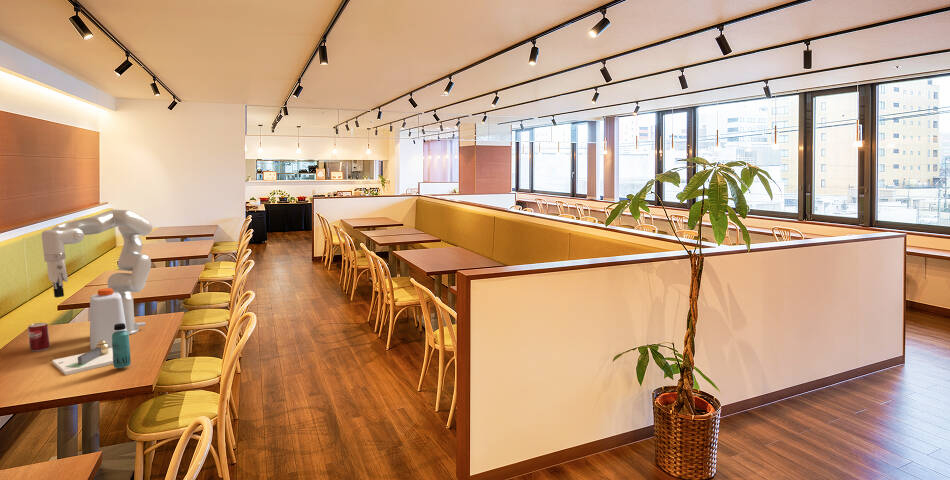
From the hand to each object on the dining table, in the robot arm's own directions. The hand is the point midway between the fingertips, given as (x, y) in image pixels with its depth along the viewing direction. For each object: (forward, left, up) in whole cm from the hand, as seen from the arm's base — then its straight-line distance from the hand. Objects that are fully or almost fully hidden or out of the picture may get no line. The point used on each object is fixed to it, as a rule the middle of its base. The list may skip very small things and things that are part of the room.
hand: (59, 296), depth 242 cm
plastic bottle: (-17, +2, -27) cm, 33 cm away
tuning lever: (-6, +21, -25) cm, 33 cm away
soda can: (+6, -16, -27) cm, 32 cm away
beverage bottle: (-11, +39, -27) cm, 49 cm away
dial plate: (-5, +20, -27) cm, 34 cm away
